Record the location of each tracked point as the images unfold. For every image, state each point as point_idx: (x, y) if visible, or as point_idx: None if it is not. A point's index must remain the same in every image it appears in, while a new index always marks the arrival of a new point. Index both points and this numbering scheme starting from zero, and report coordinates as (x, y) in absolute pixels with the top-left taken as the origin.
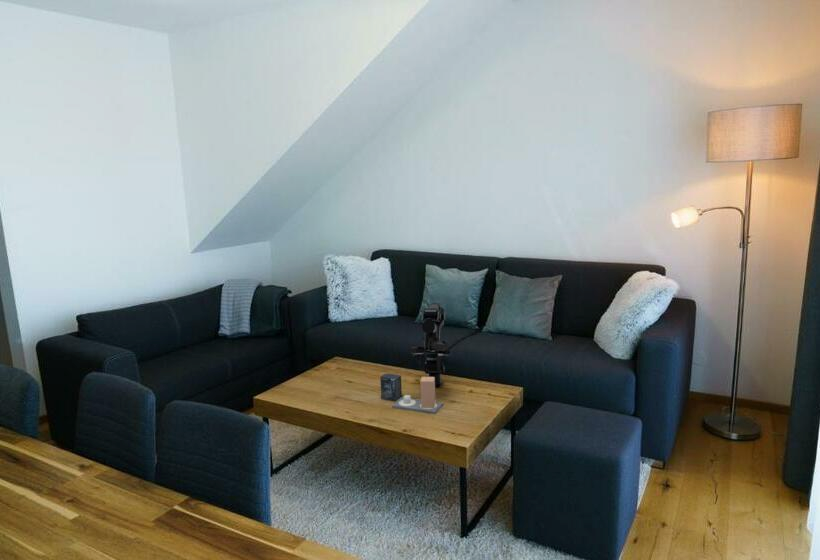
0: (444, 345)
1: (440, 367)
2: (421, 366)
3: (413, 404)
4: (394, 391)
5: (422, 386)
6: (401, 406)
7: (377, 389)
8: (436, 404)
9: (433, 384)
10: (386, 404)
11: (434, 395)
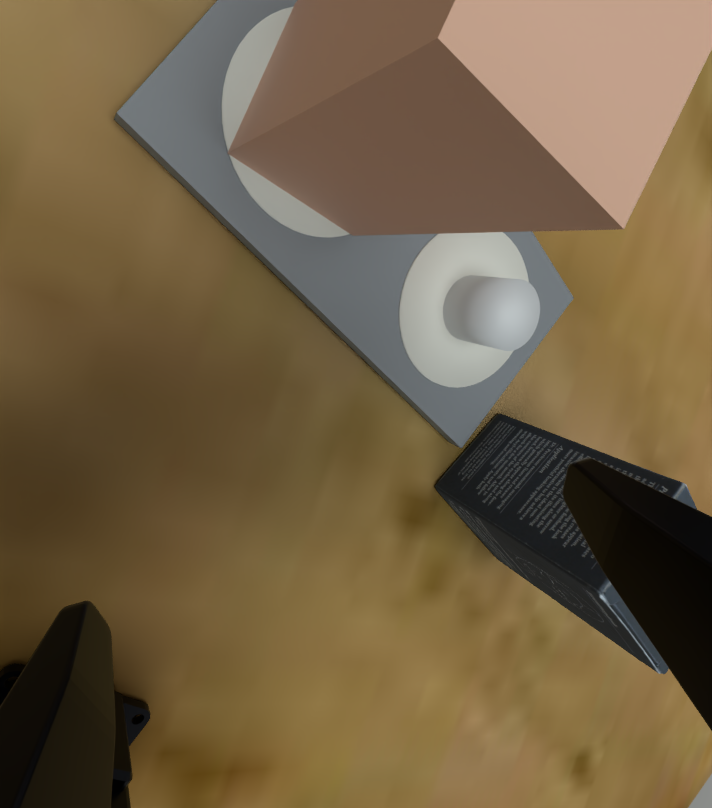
0: None
1: (32, 692)
2: (670, 511)
3: (443, 235)
4: (569, 442)
5: None
6: (531, 247)
7: (513, 649)
8: (230, 99)
9: None
10: (562, 376)
11: (315, 34)
